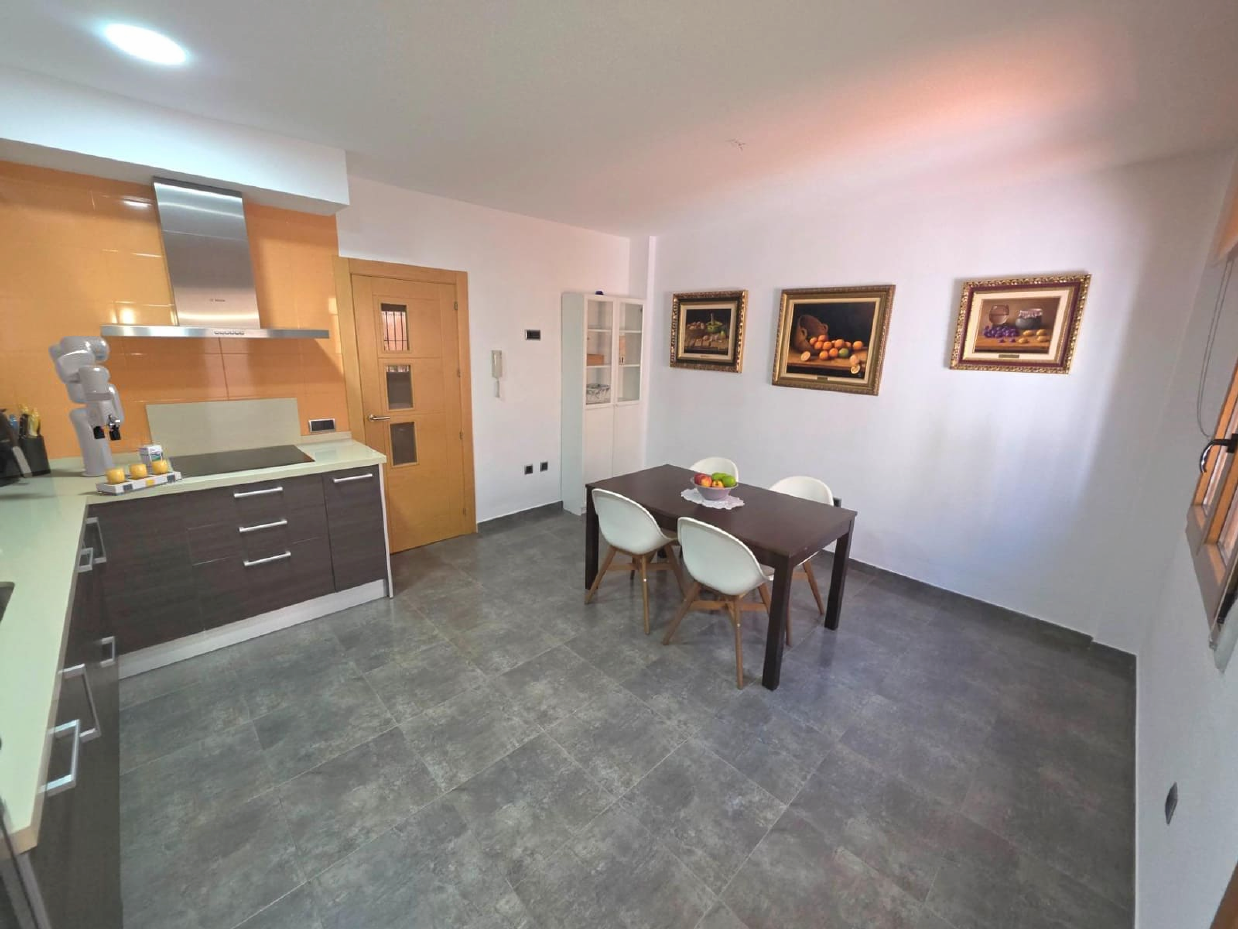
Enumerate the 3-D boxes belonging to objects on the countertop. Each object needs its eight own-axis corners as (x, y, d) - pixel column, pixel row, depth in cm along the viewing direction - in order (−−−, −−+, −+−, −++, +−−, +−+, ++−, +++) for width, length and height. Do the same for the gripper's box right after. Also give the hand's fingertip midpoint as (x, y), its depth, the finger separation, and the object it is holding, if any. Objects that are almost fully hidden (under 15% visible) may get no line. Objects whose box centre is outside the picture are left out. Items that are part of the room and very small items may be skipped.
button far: (150, 475, 220) (147, 462, 218) (163, 472, 225) (160, 459, 223) (158, 476, 218) (155, 463, 217) (171, 473, 223) (169, 460, 222)
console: (97, 492, 205) (95, 483, 204) (163, 478, 228) (161, 469, 227) (117, 495, 202) (115, 486, 201) (182, 480, 224) (180, 472, 223)
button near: (105, 484, 205) (102, 470, 203) (120, 481, 210) (117, 467, 208) (113, 485, 203) (110, 471, 202) (129, 482, 208) (125, 468, 207)
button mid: (128, 479, 212) (125, 466, 211) (142, 476, 217) (139, 463, 216) (137, 480, 211) (133, 467, 209) (151, 477, 216) (148, 464, 214)
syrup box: (154, 477, 228) (147, 447, 225) (144, 476, 229) (137, 446, 226) (167, 474, 234) (161, 444, 230) (157, 473, 235) (151, 444, 231)
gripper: (71, 397, 197) (82, 439, 201) (101, 399, 192) (111, 442, 196) (95, 395, 204) (105, 436, 208) (124, 397, 199) (133, 439, 203)
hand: (108, 439), depth 202 cm, fingers open, 9 cm apart
